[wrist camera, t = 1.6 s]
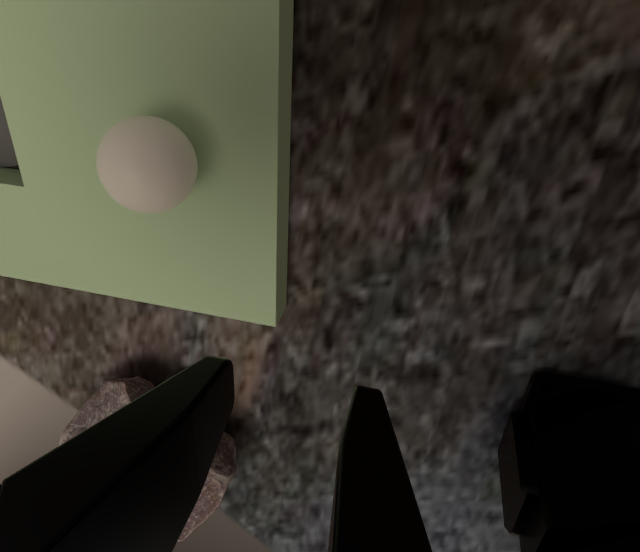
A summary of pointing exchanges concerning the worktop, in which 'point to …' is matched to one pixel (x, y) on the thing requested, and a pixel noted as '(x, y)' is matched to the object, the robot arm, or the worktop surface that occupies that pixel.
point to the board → (159, 101)
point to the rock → (124, 392)
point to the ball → (146, 164)
